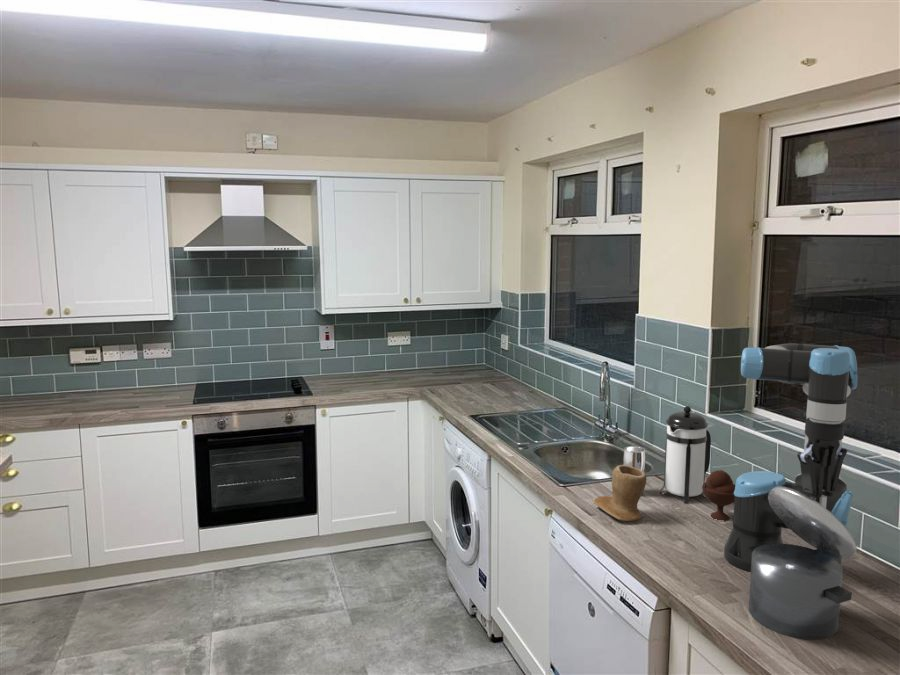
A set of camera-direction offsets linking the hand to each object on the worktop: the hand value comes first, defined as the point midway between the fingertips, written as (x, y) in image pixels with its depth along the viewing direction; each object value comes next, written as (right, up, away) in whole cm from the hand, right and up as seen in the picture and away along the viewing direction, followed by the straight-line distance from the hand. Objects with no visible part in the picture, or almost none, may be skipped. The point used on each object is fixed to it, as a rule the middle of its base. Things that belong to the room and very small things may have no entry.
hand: (816, 522), depth 152 cm
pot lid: (-2, 0, -1) cm, 2 cm away
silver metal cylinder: (-21, -11, +75) cm, 79 cm away
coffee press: (-4, -11, +74) cm, 75 cm away
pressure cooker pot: (-4, -21, +2) cm, 22 cm away
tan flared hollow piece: (-29, -13, +58) cm, 66 cm away
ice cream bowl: (0, -13, +55) cm, 57 cm away
